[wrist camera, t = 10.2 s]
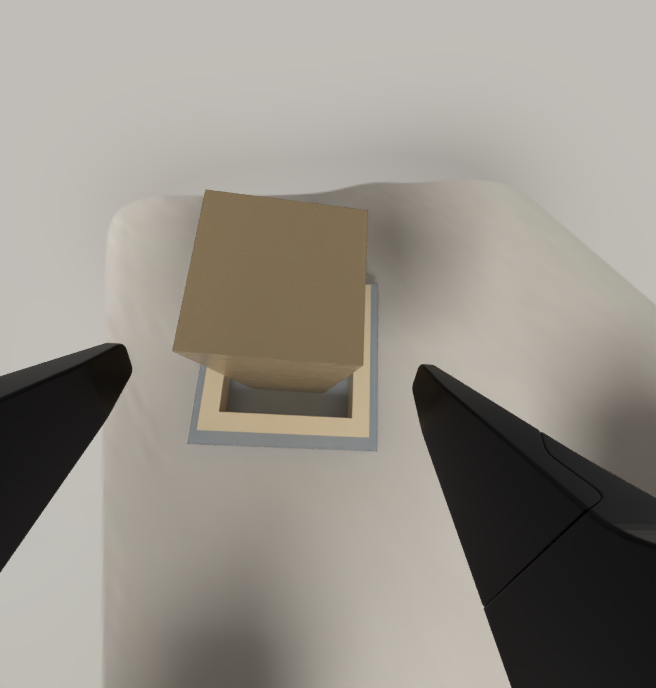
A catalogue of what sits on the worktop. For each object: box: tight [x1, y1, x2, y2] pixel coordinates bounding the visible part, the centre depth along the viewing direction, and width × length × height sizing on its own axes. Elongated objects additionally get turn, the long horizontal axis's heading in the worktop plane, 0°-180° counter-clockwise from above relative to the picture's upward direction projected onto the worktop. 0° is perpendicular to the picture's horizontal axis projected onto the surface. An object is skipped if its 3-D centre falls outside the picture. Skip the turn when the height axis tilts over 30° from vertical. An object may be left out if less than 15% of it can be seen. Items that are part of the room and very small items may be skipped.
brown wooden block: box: [172, 190, 368, 394], centre depth 12 cm, size 4×4×11 cm
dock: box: [187, 283, 378, 451], centre depth 17 cm, size 11×11×2 cm
